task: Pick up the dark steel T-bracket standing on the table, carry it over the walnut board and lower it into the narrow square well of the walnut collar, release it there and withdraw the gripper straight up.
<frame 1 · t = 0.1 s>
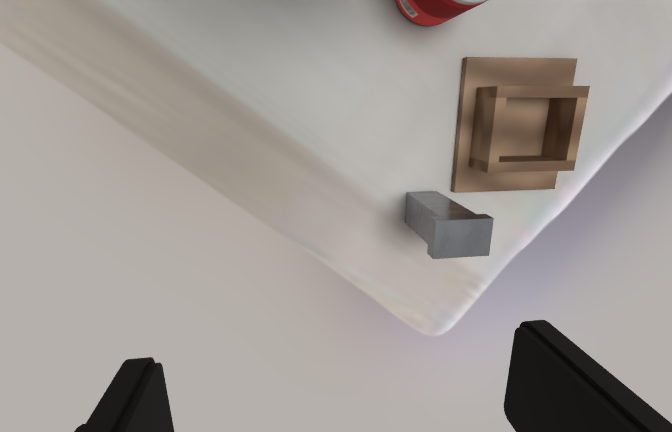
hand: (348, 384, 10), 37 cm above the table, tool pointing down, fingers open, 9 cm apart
bracket: (420, 206, 48), on the table
well block: (509, 127, 47), on the table
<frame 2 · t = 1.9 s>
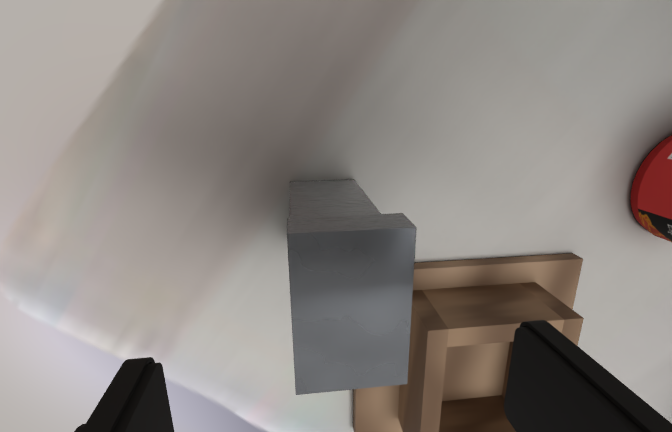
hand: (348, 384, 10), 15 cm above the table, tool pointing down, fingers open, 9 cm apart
bracket: (323, 211, 24), on the table
well block: (457, 344, 28), on the table
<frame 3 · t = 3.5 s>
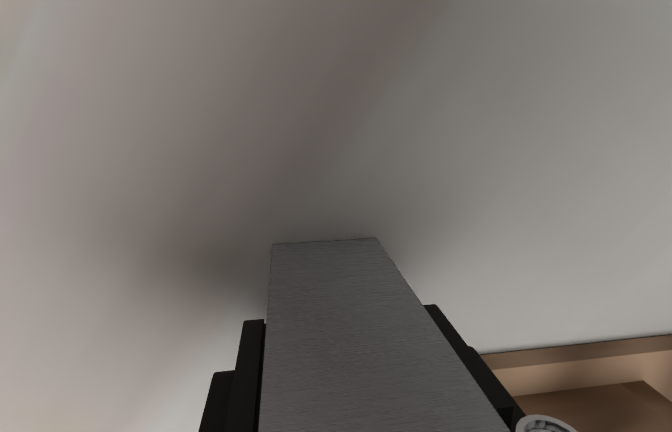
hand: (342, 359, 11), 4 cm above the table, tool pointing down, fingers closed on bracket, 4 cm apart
bracket: (326, 288, 15), on the table, touching gripper
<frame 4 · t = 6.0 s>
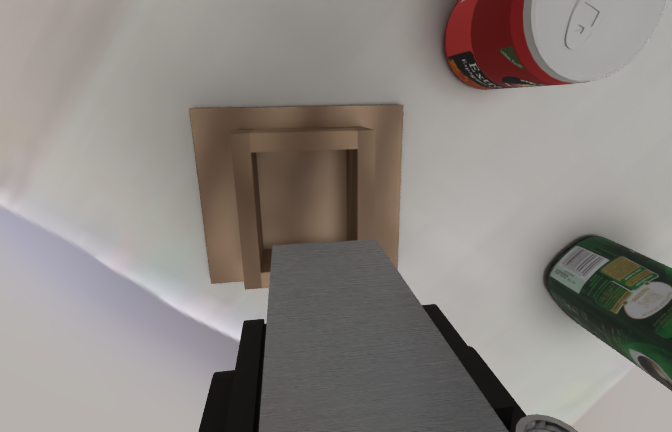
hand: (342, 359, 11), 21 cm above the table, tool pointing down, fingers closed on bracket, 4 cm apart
bracket: (326, 289, 15), point 17 cm above the table, touching gripper
well block: (303, 194, 31), on the table
canned food: (486, 37, 29), on the table
coffee jar: (584, 276, 37), on the table
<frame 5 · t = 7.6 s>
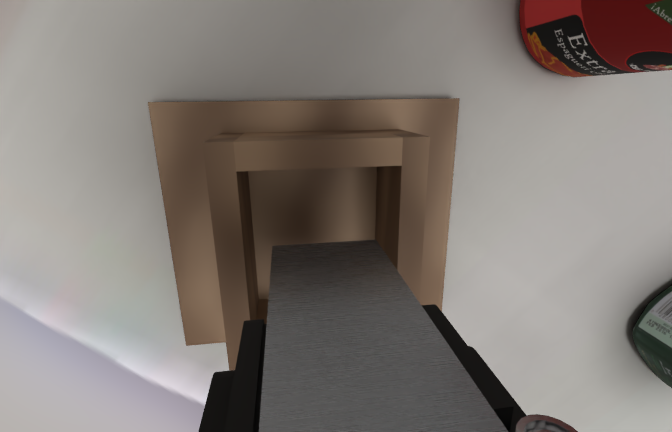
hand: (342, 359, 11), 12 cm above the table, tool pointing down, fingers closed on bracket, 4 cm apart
bracket: (326, 289, 15), point 8 cm above the table, touching gripper
well block: (314, 223, 22), on the table
canned food: (577, 2, 20), on the table
when the fingers open (7 cm above the table, at t = 8.9 s): bracket drops 2 cm, resting on well block.
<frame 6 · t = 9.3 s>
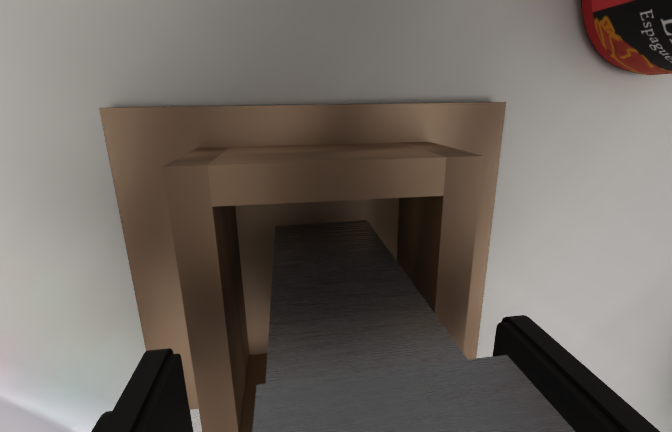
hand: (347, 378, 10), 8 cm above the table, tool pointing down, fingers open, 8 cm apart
bracket: (323, 265, 17), point 1 cm above the table, touching well block
well block: (319, 258, 18), on the table
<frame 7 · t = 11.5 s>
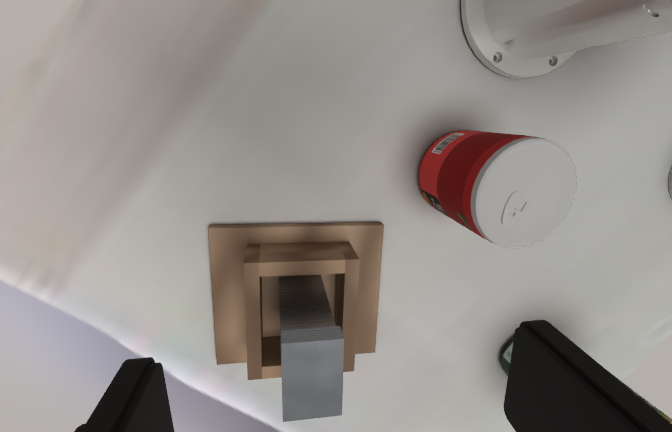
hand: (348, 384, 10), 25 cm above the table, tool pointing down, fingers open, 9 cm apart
bracket: (300, 294, 36), point 1 cm above the table, touching well block
well block: (298, 291, 37), on the table
canned food: (452, 171, 36), on the table
coffee jar: (532, 355, 44), on the table
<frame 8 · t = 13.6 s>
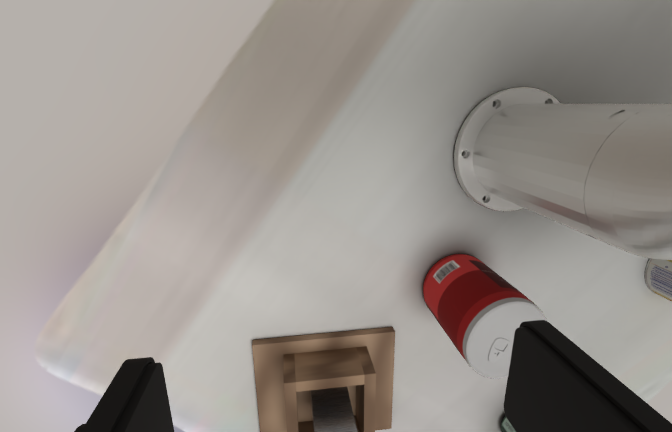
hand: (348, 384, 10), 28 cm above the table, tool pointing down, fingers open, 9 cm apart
canned food 2: (671, 265, 46), on the table
bracket: (327, 389, 43), point 1 cm above the table, touching well block
well block: (325, 383, 44), on the table
canned food: (452, 282, 43), on the table
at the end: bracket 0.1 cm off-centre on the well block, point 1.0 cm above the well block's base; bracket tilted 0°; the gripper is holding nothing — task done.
